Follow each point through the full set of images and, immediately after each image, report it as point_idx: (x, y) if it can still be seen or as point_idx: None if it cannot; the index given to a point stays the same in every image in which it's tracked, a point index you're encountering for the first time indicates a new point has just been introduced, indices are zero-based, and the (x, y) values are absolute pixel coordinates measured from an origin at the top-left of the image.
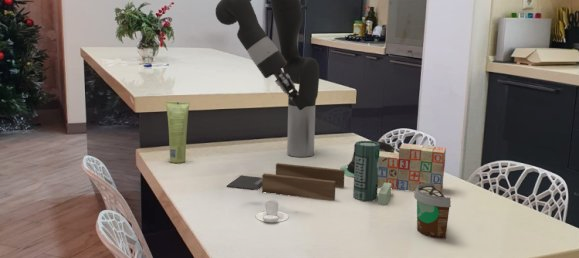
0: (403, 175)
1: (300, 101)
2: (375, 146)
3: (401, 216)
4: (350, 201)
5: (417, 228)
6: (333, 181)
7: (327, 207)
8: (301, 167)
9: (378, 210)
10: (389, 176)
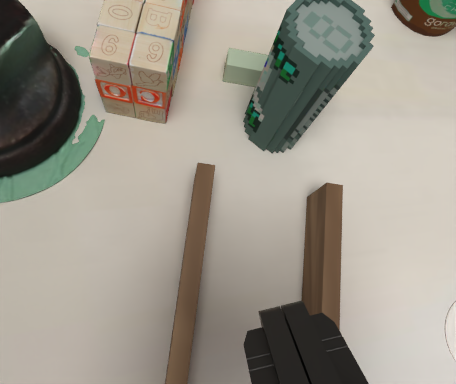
0: (187, 8)
1: (347, 352)
2: (356, 6)
3: (372, 56)
4: (311, 158)
5: (438, 33)
6: (332, 188)
7: (372, 210)
8: (195, 315)
9: (352, 98)
10: (180, 45)
